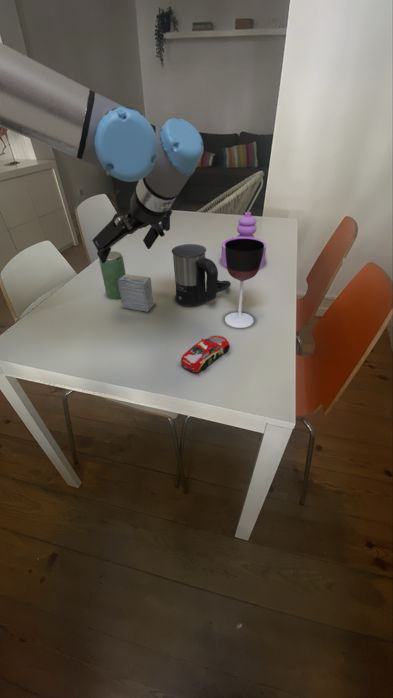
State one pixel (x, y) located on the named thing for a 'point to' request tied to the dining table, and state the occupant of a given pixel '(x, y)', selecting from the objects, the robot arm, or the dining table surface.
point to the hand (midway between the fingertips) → (124, 251)
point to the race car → (204, 353)
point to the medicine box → (136, 292)
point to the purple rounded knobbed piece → (244, 235)
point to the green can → (112, 273)
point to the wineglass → (242, 272)
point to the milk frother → (195, 275)
